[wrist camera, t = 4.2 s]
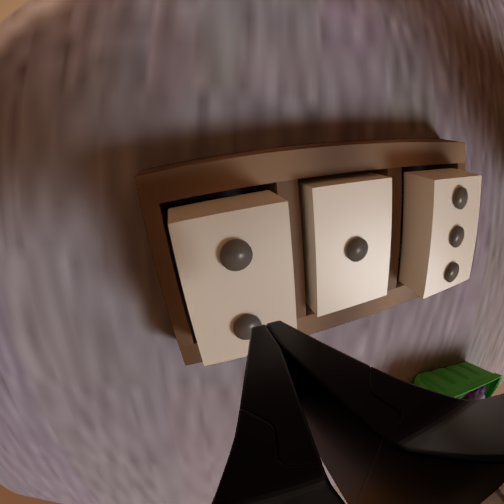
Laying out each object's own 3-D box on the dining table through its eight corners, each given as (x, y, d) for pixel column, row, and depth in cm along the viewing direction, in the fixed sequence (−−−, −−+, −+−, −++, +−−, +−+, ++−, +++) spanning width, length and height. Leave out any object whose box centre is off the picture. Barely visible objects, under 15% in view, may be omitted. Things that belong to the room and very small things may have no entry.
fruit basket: (476, 349, 26) (541, 407, 16) (440, 408, 29) (491, 466, 19) (414, 362, 23) (495, 449, 12) (373, 430, 25) (429, 511, 15)
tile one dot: (364, 170, 14) (394, 178, 12) (364, 277, 17) (388, 296, 15) (291, 179, 14) (313, 188, 12) (300, 295, 16) (318, 318, 14)
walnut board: (441, 138, 16) (464, 142, 14) (433, 270, 19) (452, 282, 17) (140, 171, 12) (134, 176, 11) (182, 341, 16) (185, 365, 14)
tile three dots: (452, 168, 14) (483, 175, 12) (444, 264, 17) (470, 279, 15) (403, 172, 14) (436, 181, 11) (398, 280, 16) (425, 300, 14)
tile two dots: (268, 189, 12) (289, 202, 10) (281, 315, 15) (299, 344, 13) (168, 208, 12) (167, 225, 9) (198, 335, 14) (204, 368, 12)
